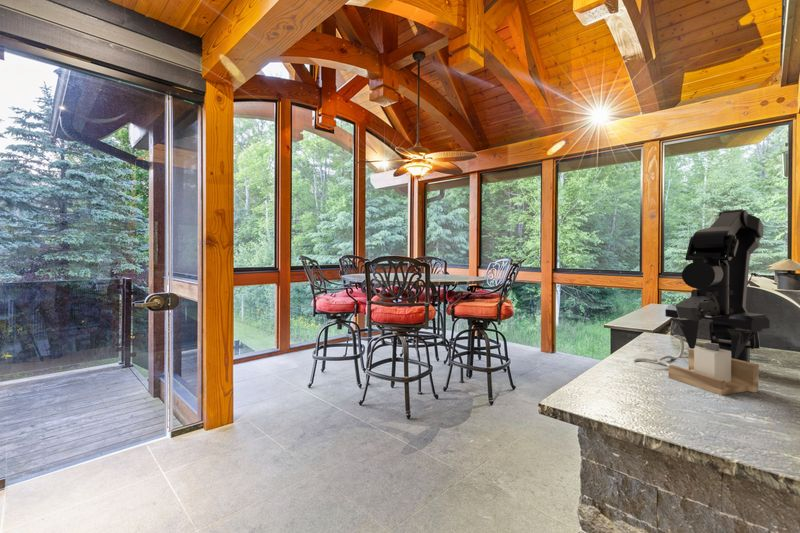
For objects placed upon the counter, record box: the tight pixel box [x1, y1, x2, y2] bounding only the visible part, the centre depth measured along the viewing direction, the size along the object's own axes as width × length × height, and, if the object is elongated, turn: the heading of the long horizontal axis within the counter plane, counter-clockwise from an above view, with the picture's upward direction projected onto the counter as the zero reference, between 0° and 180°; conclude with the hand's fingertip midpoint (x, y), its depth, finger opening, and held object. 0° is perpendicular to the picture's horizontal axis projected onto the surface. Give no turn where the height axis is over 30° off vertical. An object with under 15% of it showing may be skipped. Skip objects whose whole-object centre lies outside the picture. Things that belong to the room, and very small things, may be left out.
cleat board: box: [667, 348, 760, 396], centre depth 87 cm, size 9×14×6 cm, turn 14°
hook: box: [631, 334, 685, 371], centre depth 105 cm, size 7×9×20 cm
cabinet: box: [694, 342, 731, 383], centre depth 86 cm, size 5×4×8 cm
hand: (712, 353), depth 85 cm, fingers open, 9 cm apart
